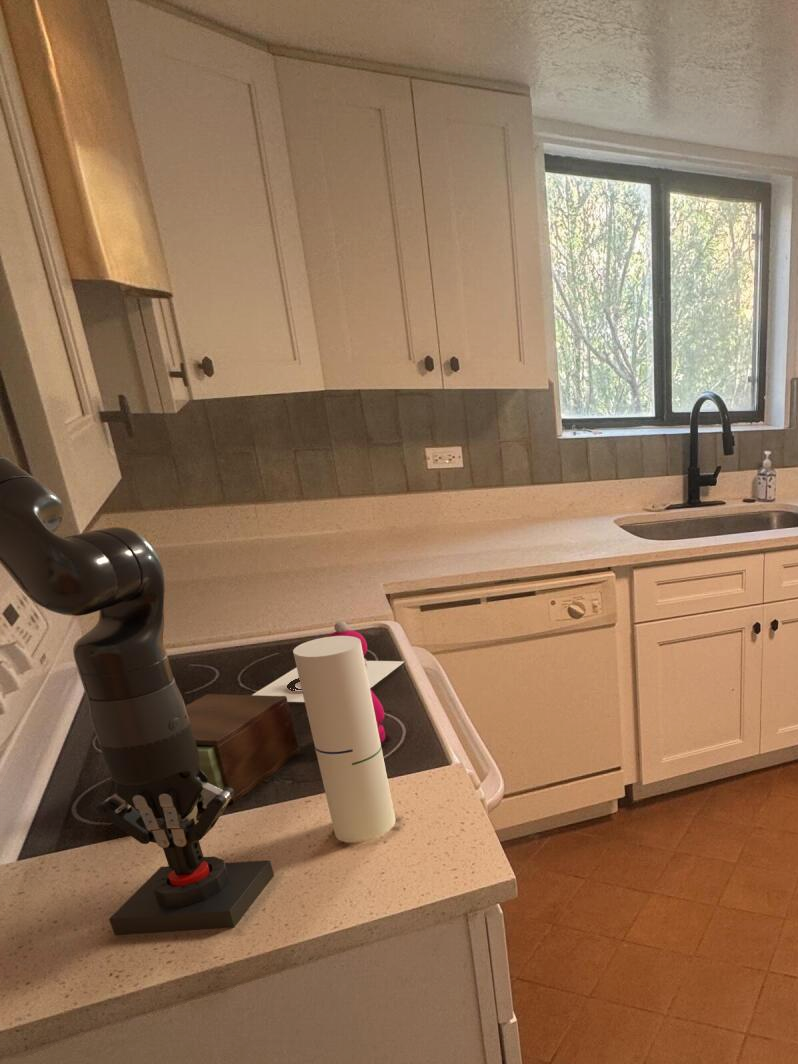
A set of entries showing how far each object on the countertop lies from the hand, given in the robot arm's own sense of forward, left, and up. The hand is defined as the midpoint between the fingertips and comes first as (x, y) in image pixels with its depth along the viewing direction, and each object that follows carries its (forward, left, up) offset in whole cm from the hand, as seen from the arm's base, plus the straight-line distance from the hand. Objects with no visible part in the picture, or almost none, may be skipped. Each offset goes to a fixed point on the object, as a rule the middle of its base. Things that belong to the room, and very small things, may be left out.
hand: (188, 870), depth 85 cm
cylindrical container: (+13, +14, -5) cm, 20 cm away
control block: (0, 0, -4) cm, 5 cm away
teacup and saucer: (-12, +66, -5) cm, 67 cm away
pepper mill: (+4, +39, -5) cm, 39 cm away
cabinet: (-12, +30, -4) cm, 33 cm away
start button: (0, 0, -2) cm, 2 cm away
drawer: (-13, +26, -4) cm, 29 cm away
